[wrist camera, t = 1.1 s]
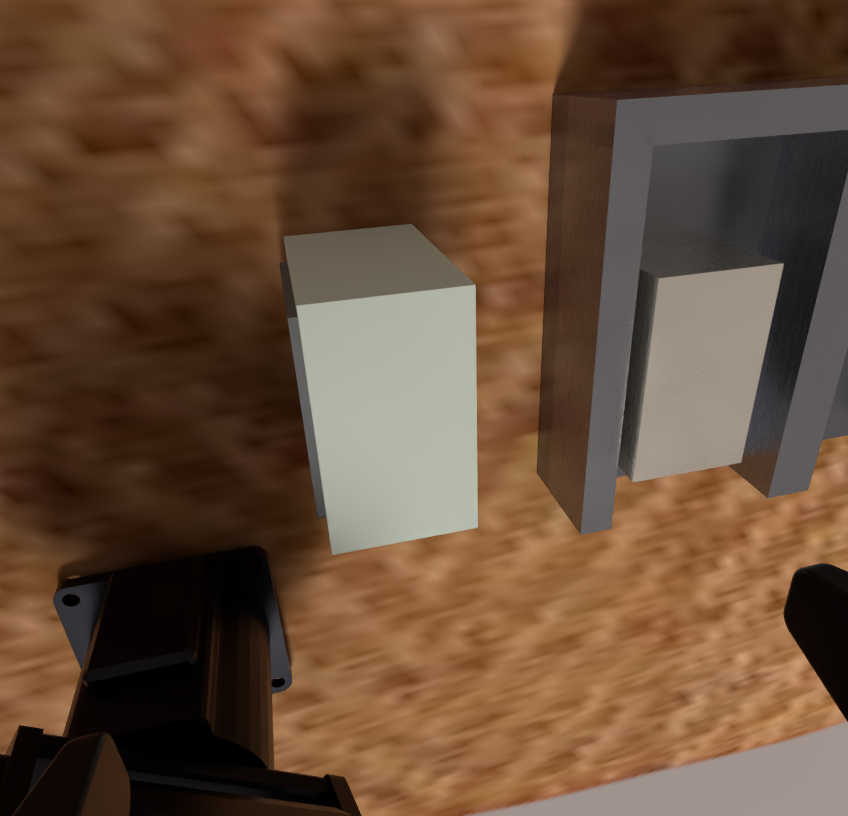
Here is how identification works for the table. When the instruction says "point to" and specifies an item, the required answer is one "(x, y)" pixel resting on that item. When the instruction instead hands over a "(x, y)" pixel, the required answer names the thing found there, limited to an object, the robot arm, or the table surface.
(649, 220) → the gray compartment tray
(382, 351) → the pale sage upright block
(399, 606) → the table surface
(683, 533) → the table surface
